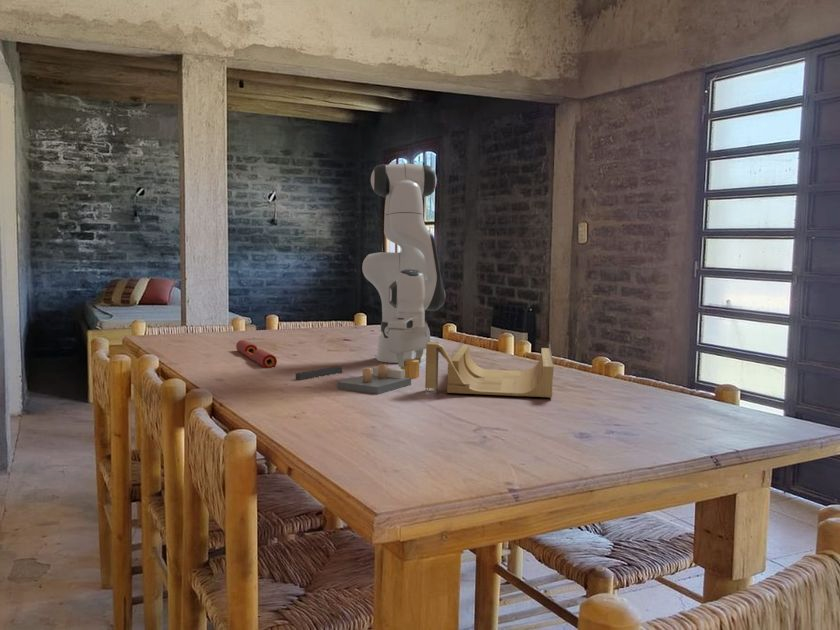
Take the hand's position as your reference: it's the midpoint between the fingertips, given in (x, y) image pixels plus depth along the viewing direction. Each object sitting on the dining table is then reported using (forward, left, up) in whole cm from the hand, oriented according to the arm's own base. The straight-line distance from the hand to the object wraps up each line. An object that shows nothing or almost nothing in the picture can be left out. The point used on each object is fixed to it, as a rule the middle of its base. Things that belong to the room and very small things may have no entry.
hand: (409, 365), depth 233 cm
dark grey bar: (+13, -19, -3) cm, 23 cm away
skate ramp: (-6, +26, -5) cm, 27 cm away
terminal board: (+19, 0, -4) cm, 20 cm away
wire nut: (-1, 0, -4) cm, 4 cm away
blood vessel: (0, -64, -5) cm, 65 cm away
